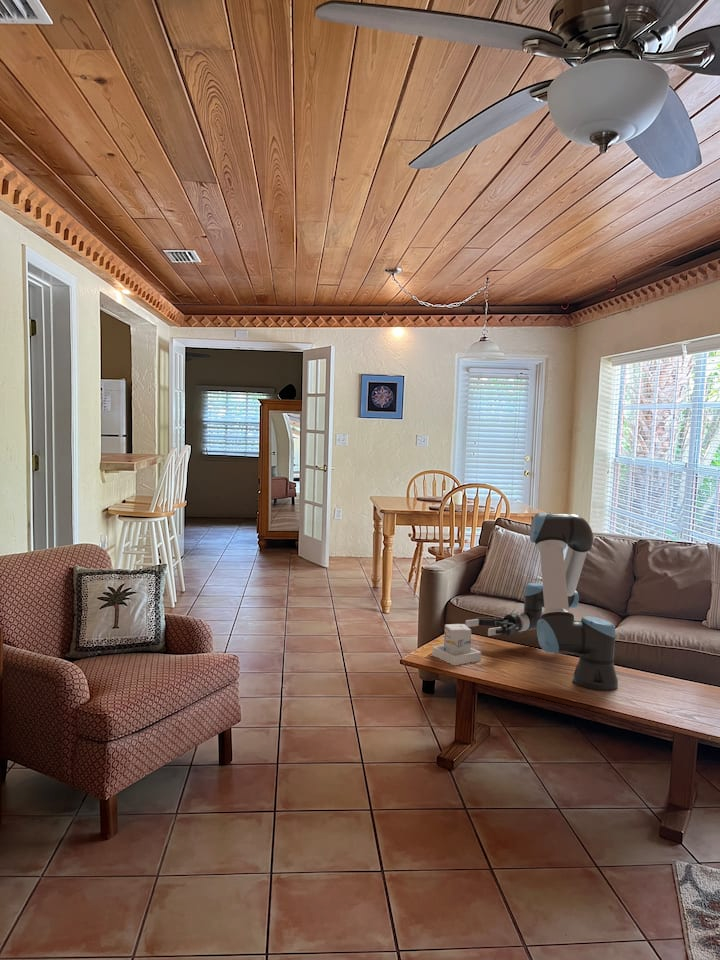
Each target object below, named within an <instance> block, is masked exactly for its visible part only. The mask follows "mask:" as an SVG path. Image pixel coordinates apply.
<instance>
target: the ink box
mask: <svg viewBox="0 0 720 960" xmlns="http://www.w3.org/2000/svg"><path fill="white" fill-rule="evenodd" d="M465 624H466V623H451V624H450V623H449V624H444V638H443V639H444V640H443V645H444V651H445V652H447V653H449V654H452V655H454V656H457V655H463V654H469V653H470V652H471V648H472V629H471V627H467V626H466V625H465Z"/></svg>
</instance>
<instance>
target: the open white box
mask: <svg viewBox="0 0 720 960" xmlns="http://www.w3.org/2000/svg"><path fill="white" fill-rule="evenodd" d="M432 656H433V657H434V658H437V657H438V658H437V659H439V658H440V659H439V660H441V661H443V660H444V662H445V661H446V662H445V663H448V664H449V663H450V665H452V666H453V665H455V666H459V664H461V665H465V663H466V664H471V663H470V662H472V663H476V662H475V661H477V662H481V660H482V652H481V651H479V650H477V649H475V648H472V647H471V652H470V653H469V654H463V655H457V656H454V655H452V654H449V653H447V652H445V651H444V644H443V645H442V644H441V645H436V646H432Z"/></svg>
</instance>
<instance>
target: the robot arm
mask: <svg viewBox="0 0 720 960" xmlns="http://www.w3.org/2000/svg"><path fill="white" fill-rule="evenodd" d="M529 541H530V542H531V543H533V544H534V545H535V549H536V550H537V551H538V552H539V556H540V569H541V580H542V582H541V583H542V584H541V583H536V582H529V583H527V584H525V586H524V600H523V602H524V605H523V612H516V613H509V614H506V615H504V617H503V618H498V617H497V616H493V617H487V616H486V617H484V616H483V617H474V619H466V620H465V623H464V624H465V625H466V626H467V627H468V628H472V627H477V628H478V626H479V627H480V626H487V627H488V626H490V628H487V629H488V630H487V636H489V637H490V636H498V635H506V636H511V635H512V634H514V633H518V632H519V633H522V632H525V631H532V630H533V631H534V630H536V636H537V640H538V644H539V646H540V648H541V650H543V651H544V652H546V653H551V654H556V655H557V654H570V655H571V654H572V655H579V657H578V658H579V659H578V662H577V665H576V667H575V670H574V671H573V677H572V681H573V682H574V683H575V684H576V685H579V687H580V686H581V687H582V688H586V689H591V690H595V691H612V690H613V691H614V690H615V689H617V688H618V685H619V679H618V677H617V672H616V668H615V664H614V662H615V661H614V660H615V647H616V645H615V644H616V637H617V636H616V626H615V624H613V622H611V621H609V620H607V619H604V618H600V617H597V616H596V617H595V616H589V615H584V616H582V617H581V619H580V620H575V615H574V613H573V612H571V611H570V609H574V608H575V609H576V608H577V607H578V605H579V601H580V597H579V596H580V595H579V593H578V591H577V587H578V583H579V581H580V577H581V574H582V571H583V567H584V564H585V560H586V557H587V554H588V552H589V551H591V549H592V548H593V543H594V534H593V530H592V527H591V525H590V524H589V523H588V522H587V521H586V520H585V519H584V518H583V517H581V516H580V515H578V514H575V513H550V512H549V513H548V512H537V513H535V514H534V516H533V518H532V520H531V524H530V528H529ZM565 549H567V550H566V553H565V557H564V551H565ZM543 607H544V611H543Z"/></svg>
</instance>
